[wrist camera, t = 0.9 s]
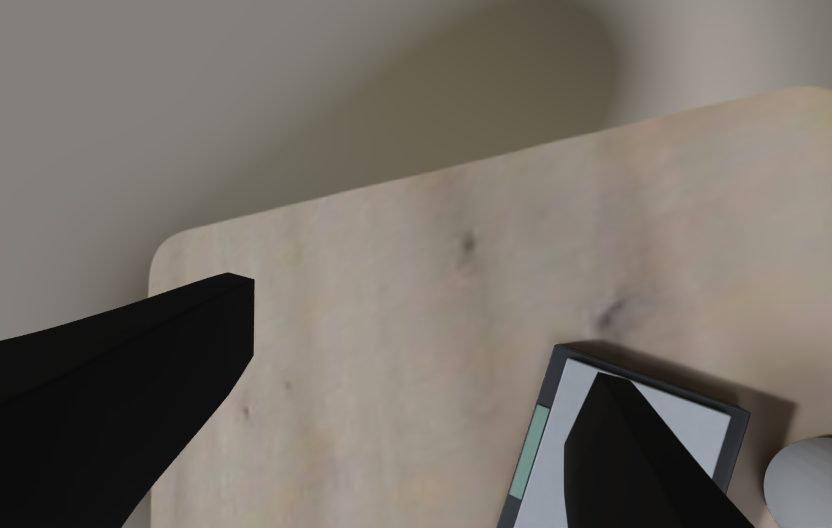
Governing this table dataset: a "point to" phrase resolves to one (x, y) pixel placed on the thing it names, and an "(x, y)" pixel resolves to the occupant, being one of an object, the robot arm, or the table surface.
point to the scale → (556, 413)
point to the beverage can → (801, 484)
